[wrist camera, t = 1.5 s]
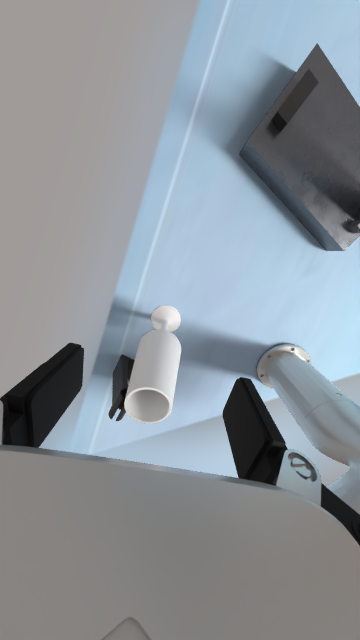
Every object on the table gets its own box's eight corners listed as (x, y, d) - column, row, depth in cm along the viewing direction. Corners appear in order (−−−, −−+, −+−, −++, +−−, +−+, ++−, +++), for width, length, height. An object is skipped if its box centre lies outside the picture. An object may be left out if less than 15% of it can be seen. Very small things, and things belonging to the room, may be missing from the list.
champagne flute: (147, 308, 39) (104, 384, 17) (177, 302, 39) (174, 373, 16) (155, 335, 42) (125, 434, 19) (183, 330, 41) (187, 425, 19)
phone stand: (113, 372, 45) (91, 412, 34) (122, 354, 43) (102, 390, 32) (145, 385, 47) (134, 428, 36) (155, 369, 45) (147, 408, 34)
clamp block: (384, 193, 32) (426, 181, 26) (326, 250, 35) (353, 250, 30) (297, 72, 26) (328, 26, 21) (239, 154, 30) (252, 132, 24)
